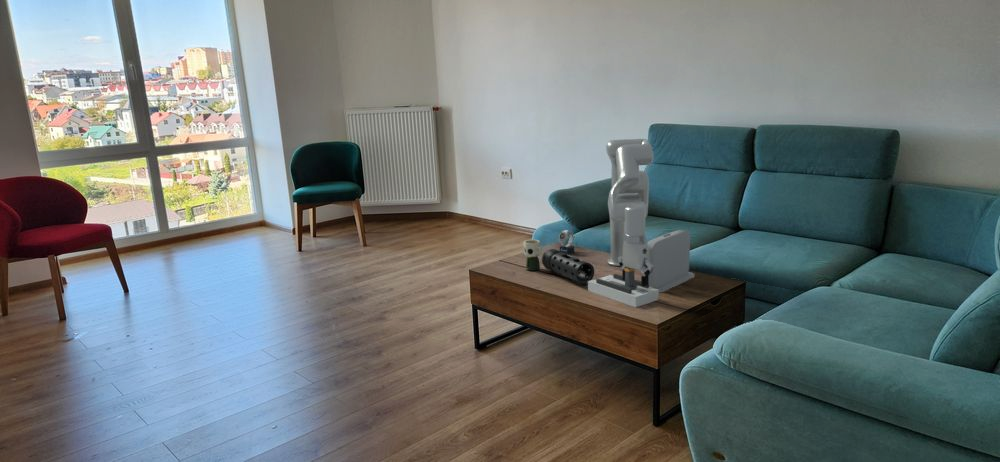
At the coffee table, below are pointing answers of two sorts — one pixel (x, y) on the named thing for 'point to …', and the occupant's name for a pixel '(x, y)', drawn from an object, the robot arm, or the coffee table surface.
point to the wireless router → (669, 260)
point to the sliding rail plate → (618, 287)
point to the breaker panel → (633, 299)
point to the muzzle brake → (568, 266)
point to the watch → (562, 238)
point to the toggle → (629, 278)
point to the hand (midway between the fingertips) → (635, 282)
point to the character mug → (532, 253)
